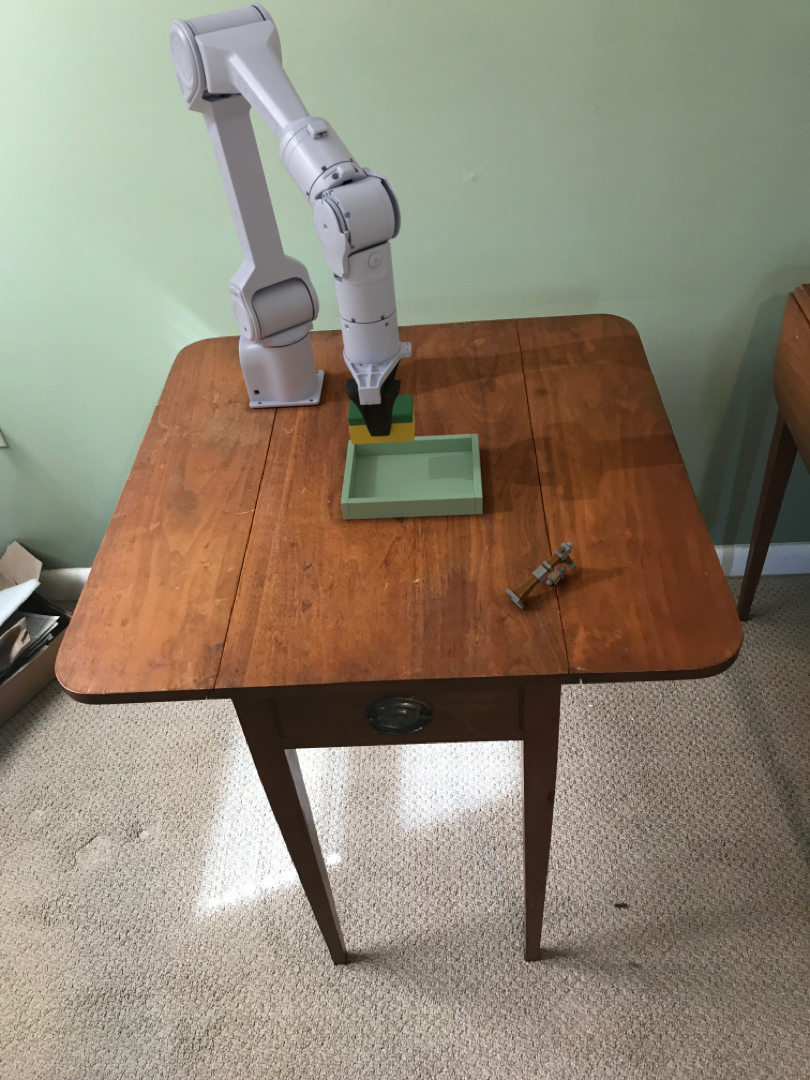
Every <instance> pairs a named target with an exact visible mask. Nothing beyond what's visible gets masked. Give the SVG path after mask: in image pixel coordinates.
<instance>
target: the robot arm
mask: <svg viewBox="0 0 810 1080" xmlns="http://www.w3.org/2000/svg"><path fill="white" fill-rule="evenodd" d="M168 51H169V55H170V59H171V63H172V66H173V69H174V73H175V77H176V80H177V83H178V86H179V89H180V93H181V96H182V99H183V101H184V103H185V106H186V109H187V110H189V111H191V112H196V113H200V114H201V115H202V117H203V120H204V123H205V126H206V129H207V132H208V135H209V138H210V143H211V146H212V149H213V153H214V157H215V160H216V164H217V167H218V170H219V174H220V177H221V181H222V185H223V188H224V192H225V195H226V199H227V203H228V206H229V210H230V213H231V217H232V219H233V225H234V227H235V228H234V229H235V232H236V235H237V239H238V241H239V245H240V249H241V252H242V256H243V261H242V263H241V265H240V266H239V267H238V269H237V270H236V271H235V273H234V274H233V275H232V277H231V278H230V279H229V281H228V286H229V294H230V298H231V310H232V314H233V317H234V320H235V322H236V325H237V327H238V329H239V331H240V333H241V335H240V337H239V341H238V356H239V363H240V368H241V371H242V375H243V380H244V382H245V387H246V391H247V395H248V397H249V398H248V399H249V407H250V408H251V409H257V408H258V409H259V408H278V407H299V406H315V405H319V404H320V400H321V395H322V390H323V389H322V388H323V384H324V378H325V371H324V370H322V369H320V370H319V369H318V370H317V366H316V359H315V355H314V349H313V344H312V339H311V333H310V331H312V330H314V323H313V322H314V321H317V319H318V317H319V312H320V300H319V297H318V293H317V291H316V287H315V286H314V284H313V282H312V280H311V277H310V274H309V271H308V268H307V266H306V265H305V264H304V263H303V262H301V261H300V260H299V259H297V258H295V257H293V256H290V255H288V254H285V252H284V247H283V243H282V239H281V235H280V231H279V228H278V224H277V220H276V216H275V211H274V208H273V207H274V206H273V203H272V200H271V195H270V191H269V188H268V183H267V179H266V175H265V172H264V167H263V163H262V159H261V155H260V151H259V147H258V142H257V139H256V136H255V131H254V127H253V123H252V119H251V116H250V112H251V109H254V111H255V112H256V113H257V114H258V116H259V117H260V118H261V120H263V122H264V123H265V124H266V125H267V127H268V129H270V130H271V131H272V133H273V134H274V135H275V136H276V138H277V139H278V140H279V147H278V148H279V149H278V157H279V160H280V163H281V164H282V166H283V167H284V169H285V171H286V172H287V173H288V175H289V176H290V178H291V180H292V181H293V183H295V185H296V187H297V188H298V189H299V191H300V193H301V194H302V195H303V197H304V198H305V200H306V201H307V203H308V204H309V205H310V207H311V209H312V210H313V215H312V222H313V224H314V225H313V226H314V229H315V233H316V235H317V237H318V240H319V242H320V244H321V247H322V250H323V256H324V261H325V263H326V264H327V268H328V270H329V271H330V272H332V275H333V281H334V289H335V295H336V301H337V308H338V316H339V322H340V329H341V335H342V341H343V351H342V355H343V360H344V363H345V365H346V367H347V368H348V370H349V372H350V374H351V375H352V377H353V378H347V379H346V381H345V394H346V396H347V398H348V399H349V401H350V400H352V401H353V403H354V404H355V405H356V406H357V408H358V409H359V411H360V412H361V414H362V417H363V419H364V421H365V424H366V426H367V429H368V431H369V433H370V435H371V436H372V437H376V436H389V435H390V431H391V423H392V411H393V406H394V403H395V400H396V398H397V396H398V395H400V391H401V387H402V379H396V375H397V370H398V368H399V365H400V362H401V360H402V359H407V358H410V357H411V356H412V351H413V349H412V347H413V346H412V343H411V342H409V341H400V331H399V323H398V322H399V321H398V313H397V312H398V311H397V299H396V290H395V278H394V266H393V257H392V247H391V246H392V245H391V242H390V241H391V240H393V239H396V238H397V237H398V235H399V234H400V231H401V226H402V215H401V208H400V204H399V199H398V197H397V195H396V193H395V191H394V188H393V187H392V185H391V184H390V182H389V180H388V179H387V177H386V176H384V175H383V174H382V173H380V172H374V171H372V170H371V168H370V167H367V166H365V167H363V166H362V167H361V166H360V164H359V163H358V161H357V160H356V159H355V157H354V156H353V154H352V153H351V151H350V150H349V149H348V147H347V146H346V144H345V142H344V141H343V140H342V138H341V137H340V136H339V134H338V133H337V132H336V130H335V129H334V127H333V126H332V125H331V123H330V122H329V121H328V120H327V119H326V118H324V117H322V116H311V114H310V113H309V111H308V109H307V107H306V106H305V104H304V102H303V100H302V98H301V97H300V95H299V93H298V91H297V90H296V87H295V86H294V84H293V82H292V81H291V79H290V77H289V75H288V73H287V72H286V70H285V69H284V67H283V53H282V45H281V39H280V34H279V31H278V28H277V25H276V23H275V20H274V18H273V17H272V15H271V14H270V12H269V11H268V10H267V9H266V8H265V7H264V6H263V5H262V4H261V3H258V2H254V3H251V4H250V5H248V6H244V7H239V8H234V9H229V10H225V11H220V12H215V13H210V14H206V15H200V16H197V17H191V18H186V19H181V18H178V19H174V20H173V21H172V23H171V25H170V29H169V33H168Z"/></svg>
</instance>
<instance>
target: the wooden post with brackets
mask: <svg viewBox="0 0 810 1080" xmlns="http://www.w3.org/2000/svg"><path fill="white" fill-rule="evenodd" d="M573 548H574V543H573V541H567V542H566V543H565V542H562V544H560V545H559V546H558V547H557V548H556V550H554V551H553V552H554V554H552V555H551V556H550V557H549V558H548V559H547V560H544V561H542V564H540V565H539V566H538V567H537V568H536V569H535V570H534V571H533V572H532V573H531V575H530V576H529V578H527V579H526V580H525V581H523V582H522V583H521V584H520V585H518V586H517V587H515V589H512V590H511V589H510V588H507V590H505V592H506V594H507V596H508V597H509V598H510V600H512V601H513V602H514V603H515V604H516V605H517V606H518V607H519V608H520V609H521V610H523V608H525V607H526V606H525V605H524V602H525V600H526V598H527V597H528V596H529V595H530V594H531V593H532V591H533V590H534V588H535V587H536V586H538V584H539V583H543V581H544V580H546V578H548V579H547V580H546V585H547V586H552V585H553V584H554V585H555V586H557V584H558V582H559V581H561V579H564V580H565V577H564V573H565V574H566V573H567V572H566V570H567V569H570V570H571V571H574V570H575V569H577V565H576V562H575V561H574V560H573V559H572V558H571V556H570V555H571V554H572V553H573V550H572V549H573ZM562 564H564V565H563V566H560V568H559V569H558V568H556V567H557V565H562Z"/></svg>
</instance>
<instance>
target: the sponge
mask: <svg viewBox="0 0 810 1080" xmlns="http://www.w3.org/2000/svg"><path fill="white" fill-rule="evenodd" d="M413 395H414V394H398V396H397V398H396V400H395V403H394V406H393V411H392V423H391V431H390V435H389V436H376V437H372V436H371V435H370V433H369V431H368V429H367V426H366V424H365V421H364V419H363V417H362V414H361V412H360V411H359V409H358V408H357V406H356V405H355V404H354V403H353V401H352V400H350V399H349V406H348V412H347V424H348V431H349V437H350V440H351V443H352V444H367V443H388V442H408V441H414V437H416V436H415V434H416V433H415V432H416V431H415V430H416V417H415V405H414V404H415V403H414V396H413Z"/></svg>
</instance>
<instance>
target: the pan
mask: <svg viewBox="0 0 810 1080" xmlns="http://www.w3.org/2000/svg"><path fill="white" fill-rule="evenodd" d="M479 441H480V440H479V434H478V433H463V434H459V433H458V434H442V435H441V434H440V435H425V436H424V435H421V436H420V435H418V436H415V437H414V441H408V442H388V443H367V444H352V443H351V439H348V442H347V443H348V444H347V451H346V459H345V466H344V475H343V483H342V491H341V496H340V497H341V498H340V507H341V512H342V517H343V518H342V519H343V520H344V521H346V520H364V519H365V520H368V519H392V518H416V517H417V518H418V517H419V518H420V517H441V516H462V515H463V516H464V515H465V516H467V515H469V516H470V515H483V514H484V511H483V510H484V508H483V507H484V505H483V503H484V502H483V501H484V499H483V484H482V472H481V458H480V457H481V456H480V455H481V454H480V444H479V443H480V442H479Z"/></svg>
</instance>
